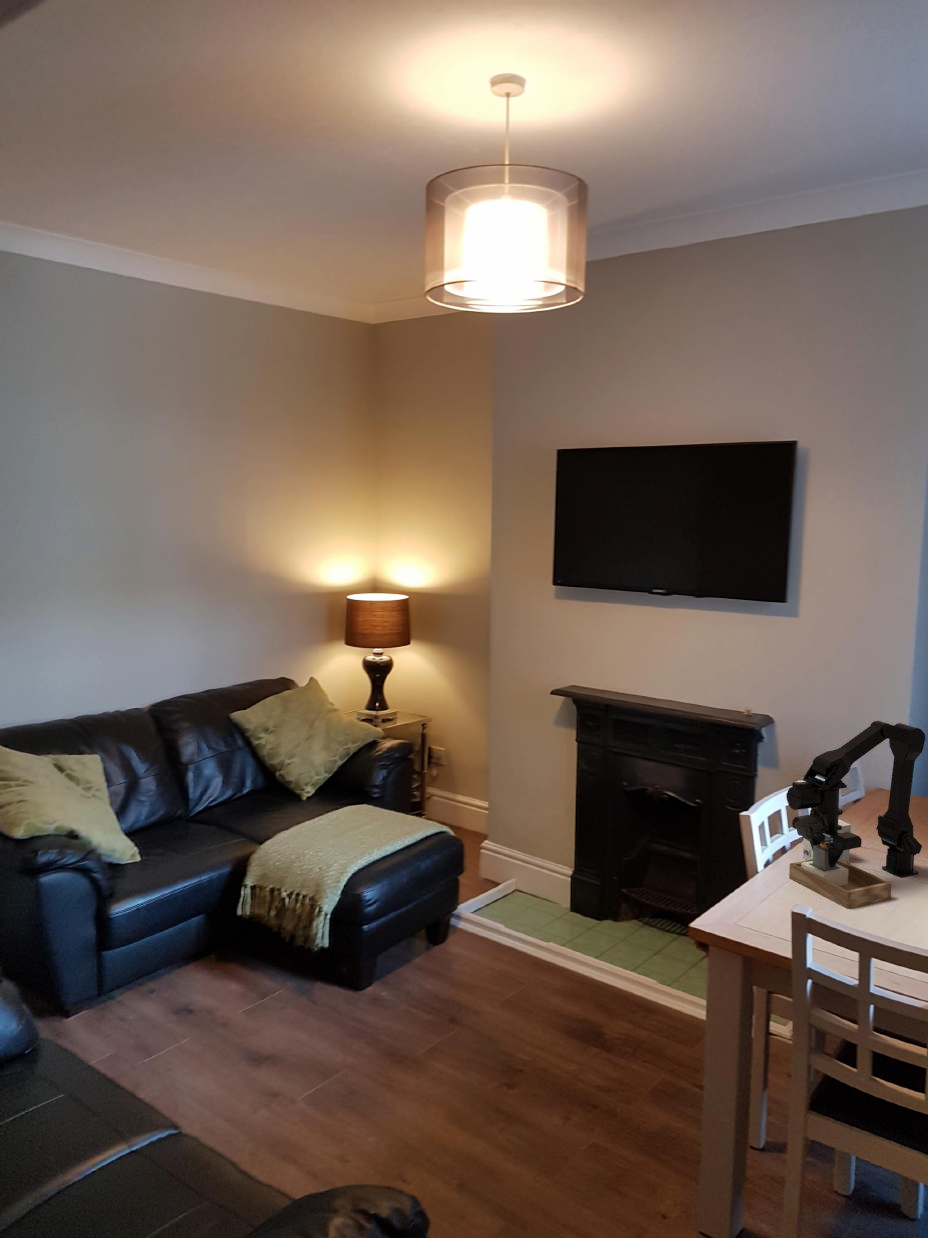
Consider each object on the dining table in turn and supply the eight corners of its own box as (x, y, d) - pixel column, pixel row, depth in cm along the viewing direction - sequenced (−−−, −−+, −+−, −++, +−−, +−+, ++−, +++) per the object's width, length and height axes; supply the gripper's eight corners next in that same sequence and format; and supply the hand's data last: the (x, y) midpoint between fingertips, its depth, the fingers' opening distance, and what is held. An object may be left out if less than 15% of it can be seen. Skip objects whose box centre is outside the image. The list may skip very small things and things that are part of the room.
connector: (824, 872, 239) (825, 839, 238) (835, 878, 235) (837, 844, 234) (812, 875, 237) (813, 842, 236) (823, 881, 234) (825, 847, 232)
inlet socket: (824, 873, 241) (825, 858, 241) (847, 884, 234) (848, 869, 234) (800, 877, 238) (801, 863, 238) (823, 889, 231) (823, 874, 231)
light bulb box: (817, 867, 247) (818, 828, 246) (801, 858, 254) (802, 820, 252) (850, 862, 250) (852, 824, 249) (834, 853, 256) (835, 816, 255)
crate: (830, 870, 245) (831, 855, 244) (890, 899, 226) (891, 883, 226) (789, 878, 240) (789, 863, 239) (847, 908, 221) (847, 892, 221)
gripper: (776, 799, 239) (774, 856, 241) (829, 821, 222) (827, 882, 224) (810, 793, 244) (808, 850, 245) (864, 814, 226) (861, 875, 228)
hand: (824, 864), depth 236 cm, fingers open, 5 cm apart
